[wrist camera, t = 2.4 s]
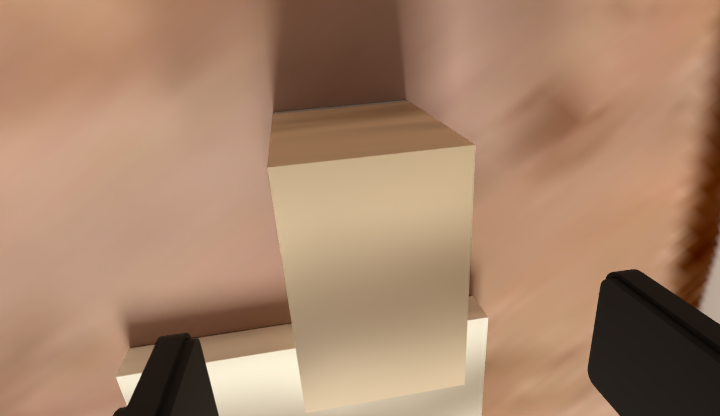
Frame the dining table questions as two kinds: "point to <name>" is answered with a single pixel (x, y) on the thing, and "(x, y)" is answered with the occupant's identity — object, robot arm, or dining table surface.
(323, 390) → the block
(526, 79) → the dining table surface
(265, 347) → the board
